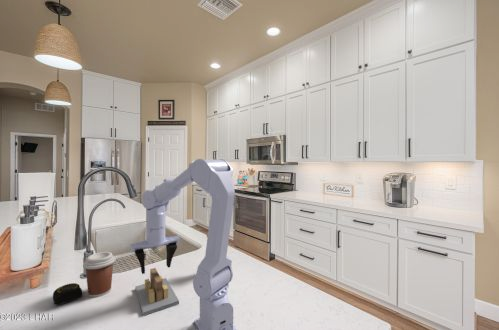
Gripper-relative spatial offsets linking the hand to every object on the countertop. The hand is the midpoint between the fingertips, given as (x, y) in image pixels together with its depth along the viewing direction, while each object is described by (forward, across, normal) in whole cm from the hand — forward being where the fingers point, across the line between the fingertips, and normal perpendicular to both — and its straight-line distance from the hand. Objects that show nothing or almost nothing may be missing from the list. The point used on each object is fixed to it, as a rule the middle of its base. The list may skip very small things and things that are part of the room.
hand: (156, 269), depth 74 cm
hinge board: (+9, 0, 0) cm, 9 cm away
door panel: (+8, 0, 0) cm, 8 cm away
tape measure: (+9, +23, -13) cm, 28 cm away
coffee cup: (+9, +15, -13) cm, 22 cm away
